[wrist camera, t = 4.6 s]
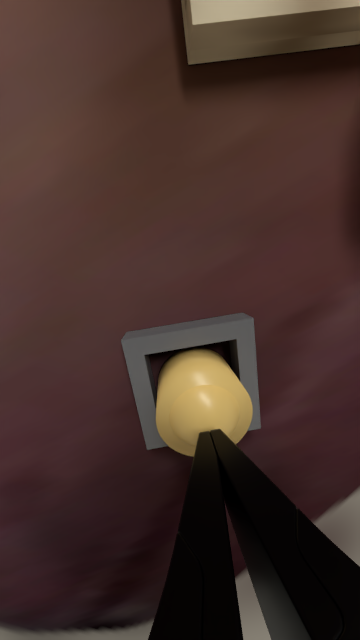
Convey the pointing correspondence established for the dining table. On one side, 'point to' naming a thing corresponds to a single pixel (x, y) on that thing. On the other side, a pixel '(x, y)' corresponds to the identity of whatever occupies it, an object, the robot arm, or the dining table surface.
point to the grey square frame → (185, 336)
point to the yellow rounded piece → (200, 399)
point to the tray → (266, 27)
